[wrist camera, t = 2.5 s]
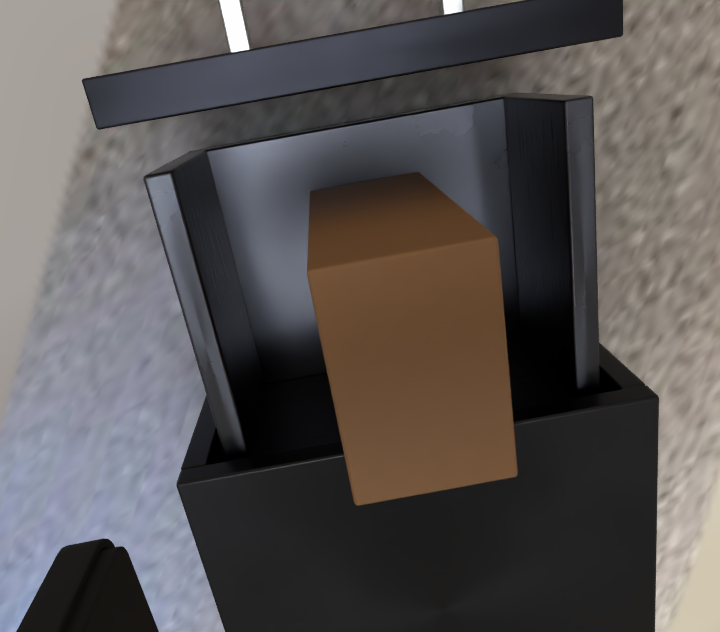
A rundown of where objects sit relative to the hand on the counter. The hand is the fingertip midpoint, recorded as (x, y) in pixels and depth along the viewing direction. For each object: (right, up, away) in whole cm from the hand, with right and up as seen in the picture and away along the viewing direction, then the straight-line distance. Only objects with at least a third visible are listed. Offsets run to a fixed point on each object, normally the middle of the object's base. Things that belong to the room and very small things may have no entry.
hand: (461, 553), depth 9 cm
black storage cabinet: (+1, -3, +20) cm, 20 cm away
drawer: (-1, +9, +14) cm, 17 cm away
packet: (-1, +6, +14) cm, 15 cm away
